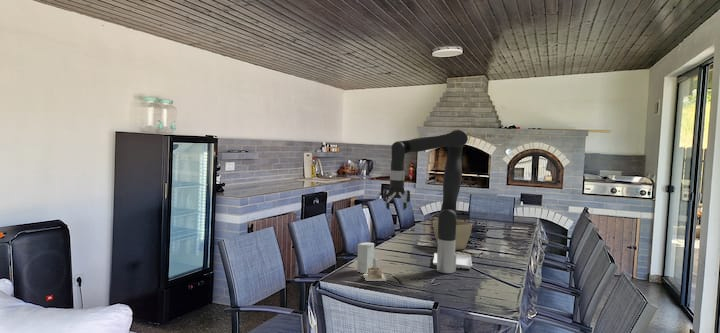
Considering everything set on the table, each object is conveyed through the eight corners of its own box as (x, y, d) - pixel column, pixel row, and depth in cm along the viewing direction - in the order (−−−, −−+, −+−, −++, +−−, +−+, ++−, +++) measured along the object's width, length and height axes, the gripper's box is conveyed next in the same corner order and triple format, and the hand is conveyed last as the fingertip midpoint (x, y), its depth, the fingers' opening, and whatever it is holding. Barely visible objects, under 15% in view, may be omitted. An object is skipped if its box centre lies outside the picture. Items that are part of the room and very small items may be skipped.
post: (382, 275, 220) (383, 256, 220) (386, 281, 210) (386, 261, 210) (363, 275, 219) (363, 256, 219) (365, 281, 209) (366, 261, 209)
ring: (379, 274, 218) (380, 266, 218) (381, 278, 212) (381, 270, 212) (367, 274, 217) (368, 266, 217) (369, 278, 211) (369, 270, 211)
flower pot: (430, 245, 289) (431, 220, 288) (454, 243, 297) (455, 219, 296) (448, 252, 271) (449, 225, 271) (472, 250, 279) (473, 224, 279)
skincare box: (366, 274, 221) (367, 245, 220) (356, 272, 224) (357, 244, 223) (374, 270, 228) (375, 242, 228) (364, 268, 231) (365, 241, 231)
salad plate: (472, 271, 233) (472, 265, 233) (432, 268, 237) (432, 261, 237) (470, 261, 254) (471, 255, 253) (434, 258, 258) (434, 252, 258)
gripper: (408, 178, 234) (407, 208, 235) (382, 178, 232) (381, 208, 233) (411, 180, 227) (410, 210, 227) (385, 179, 225) (384, 210, 226)
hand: (396, 209), depth 230 cm, fingers open, 8 cm apart
